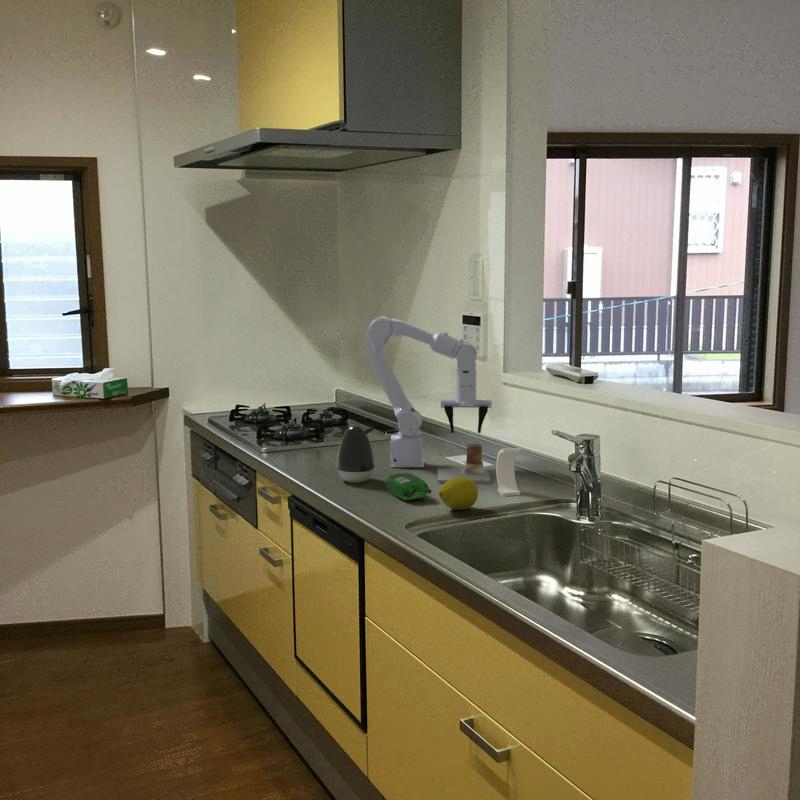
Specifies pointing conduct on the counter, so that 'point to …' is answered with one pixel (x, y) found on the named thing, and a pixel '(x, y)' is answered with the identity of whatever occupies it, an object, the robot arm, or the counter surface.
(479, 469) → the base block
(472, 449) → the walnut block
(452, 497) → the lemon
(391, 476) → the snack package
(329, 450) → the counter surface
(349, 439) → the egg-shaped speaker
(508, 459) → the headphone stand
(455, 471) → the board
